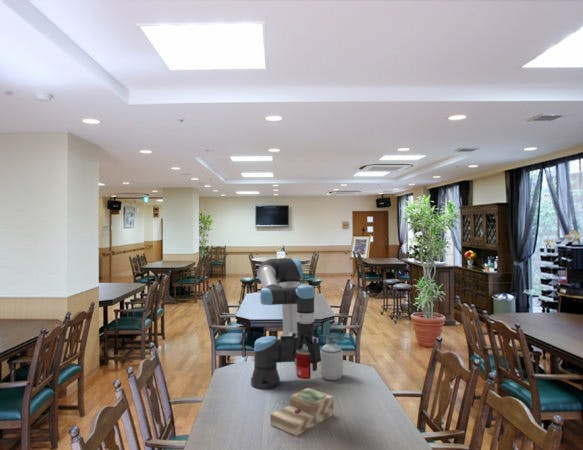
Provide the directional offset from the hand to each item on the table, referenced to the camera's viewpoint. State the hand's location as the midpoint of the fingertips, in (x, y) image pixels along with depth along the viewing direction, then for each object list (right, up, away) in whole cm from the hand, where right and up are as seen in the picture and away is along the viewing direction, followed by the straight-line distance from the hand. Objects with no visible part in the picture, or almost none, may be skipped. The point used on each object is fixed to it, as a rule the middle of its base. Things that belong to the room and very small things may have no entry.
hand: (305, 375), depth 172 cm
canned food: (0, -1, 0) cm, 1 cm away
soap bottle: (+15, -18, +45) cm, 51 cm away
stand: (-1, -17, -3) cm, 18 cm away
